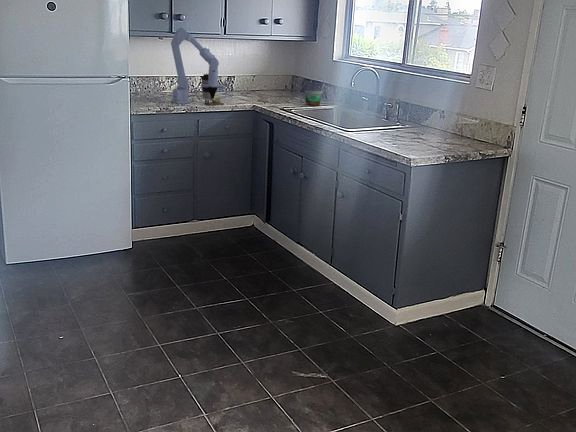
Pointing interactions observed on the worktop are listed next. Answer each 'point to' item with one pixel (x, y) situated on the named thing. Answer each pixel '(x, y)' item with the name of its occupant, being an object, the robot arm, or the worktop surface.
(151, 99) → the worktop surface
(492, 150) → the worktop surface
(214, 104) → the plate
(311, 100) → the food container
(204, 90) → the coffee cup
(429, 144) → the worktop surface
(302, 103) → the worktop surface
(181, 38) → the robot arm
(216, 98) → the bar
